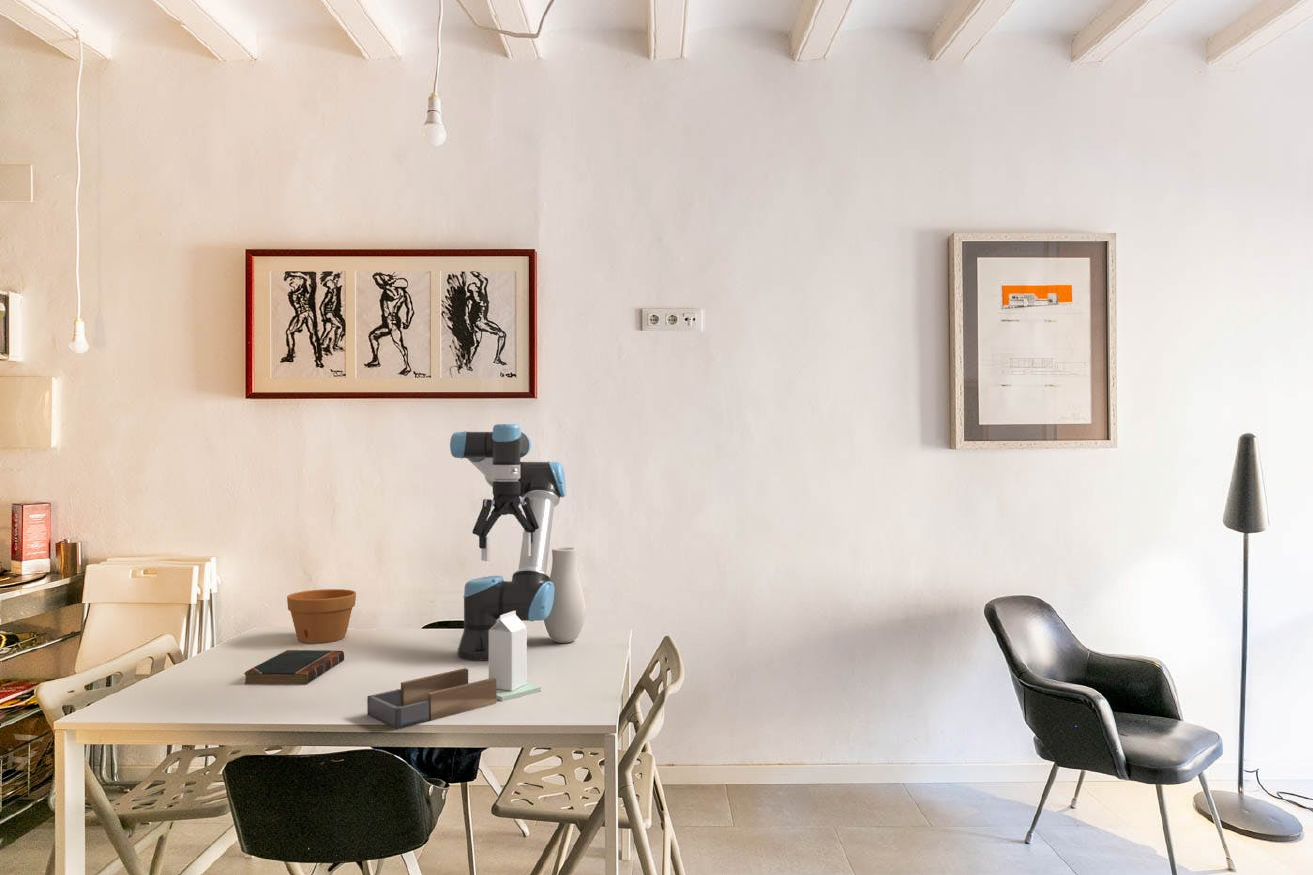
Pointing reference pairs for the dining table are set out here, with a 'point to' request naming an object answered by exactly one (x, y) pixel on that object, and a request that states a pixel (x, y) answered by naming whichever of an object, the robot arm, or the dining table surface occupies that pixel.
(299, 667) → the book
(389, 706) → the bin
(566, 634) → the vase
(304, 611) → the flower pot
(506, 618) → the milk carton
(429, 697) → the channel
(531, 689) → the pad
